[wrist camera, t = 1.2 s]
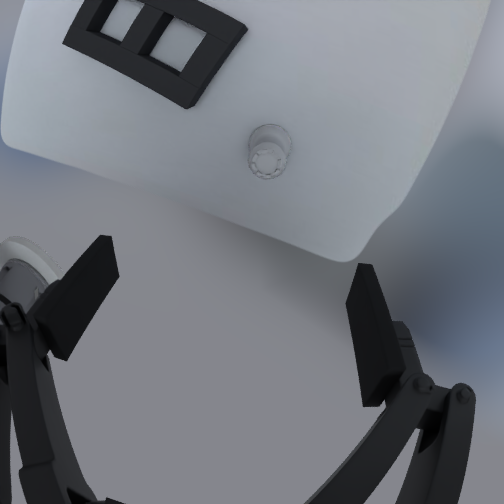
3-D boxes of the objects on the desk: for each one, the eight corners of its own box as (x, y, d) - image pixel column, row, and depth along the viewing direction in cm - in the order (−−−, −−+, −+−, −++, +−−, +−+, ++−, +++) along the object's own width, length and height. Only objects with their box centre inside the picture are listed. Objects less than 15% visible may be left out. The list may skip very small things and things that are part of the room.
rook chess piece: (300, 146, 31) (305, 167, 25) (268, 171, 33) (264, 199, 27) (271, 115, 30) (268, 127, 23) (240, 142, 32) (228, 162, 25)
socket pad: (194, 106, 30) (186, 109, 27) (76, 43, 26) (61, 43, 23) (248, 29, 25) (244, 24, 22) (118, -28, 21) (105, -34, 18)
